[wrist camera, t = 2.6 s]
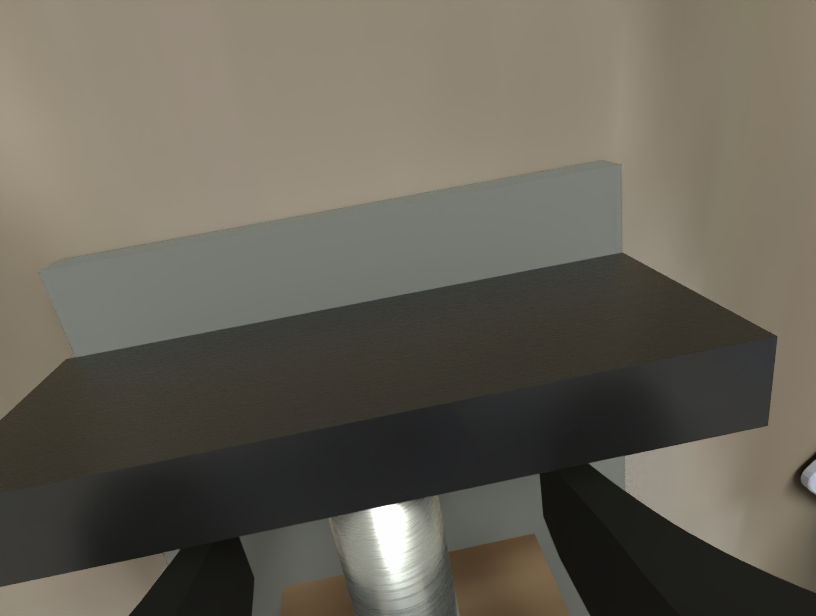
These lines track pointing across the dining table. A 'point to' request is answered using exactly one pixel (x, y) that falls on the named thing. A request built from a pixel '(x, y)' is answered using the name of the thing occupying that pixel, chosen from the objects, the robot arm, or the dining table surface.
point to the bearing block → (460, 584)
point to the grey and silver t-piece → (369, 421)
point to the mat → (344, 285)
